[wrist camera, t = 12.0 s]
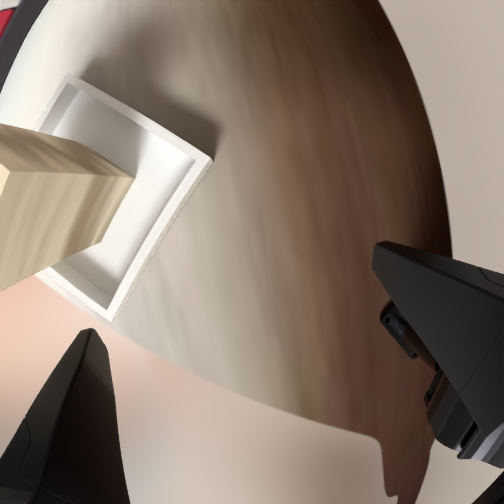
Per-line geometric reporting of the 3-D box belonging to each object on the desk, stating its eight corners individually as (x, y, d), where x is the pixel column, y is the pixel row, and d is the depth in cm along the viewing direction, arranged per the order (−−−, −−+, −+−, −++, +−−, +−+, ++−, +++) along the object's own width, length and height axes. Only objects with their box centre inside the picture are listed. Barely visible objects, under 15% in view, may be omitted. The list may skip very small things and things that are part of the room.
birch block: (135, 178, 17) (10, 171, 6) (100, 242, 18) (-24, 305, 6) (83, 143, 17) (-49, 114, 5) (52, 204, 17) (-78, 230, 5)
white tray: (213, 161, 18) (210, 157, 16) (123, 307, 20) (110, 322, 17) (83, 82, 16) (67, 72, 14) (13, 219, 18) (-5, 224, 15)
